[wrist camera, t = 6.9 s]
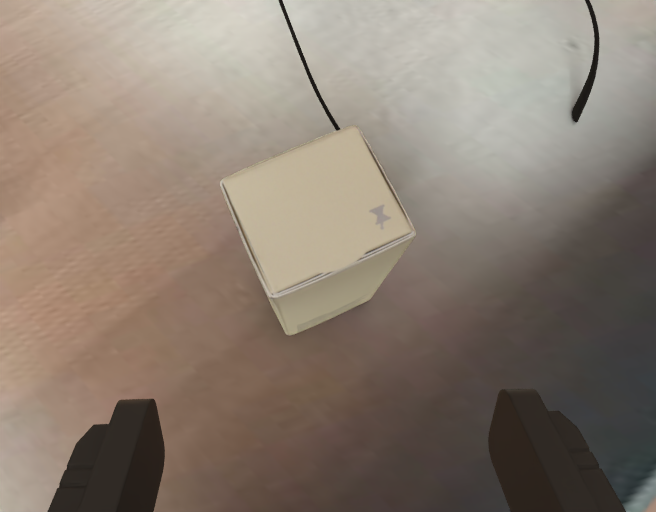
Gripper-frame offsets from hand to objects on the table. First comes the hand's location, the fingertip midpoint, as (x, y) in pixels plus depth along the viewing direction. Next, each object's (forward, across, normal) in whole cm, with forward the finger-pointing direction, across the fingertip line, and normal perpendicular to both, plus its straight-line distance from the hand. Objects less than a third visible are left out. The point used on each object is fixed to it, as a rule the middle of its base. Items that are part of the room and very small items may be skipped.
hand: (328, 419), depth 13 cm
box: (+15, 0, +7) cm, 17 cm away
